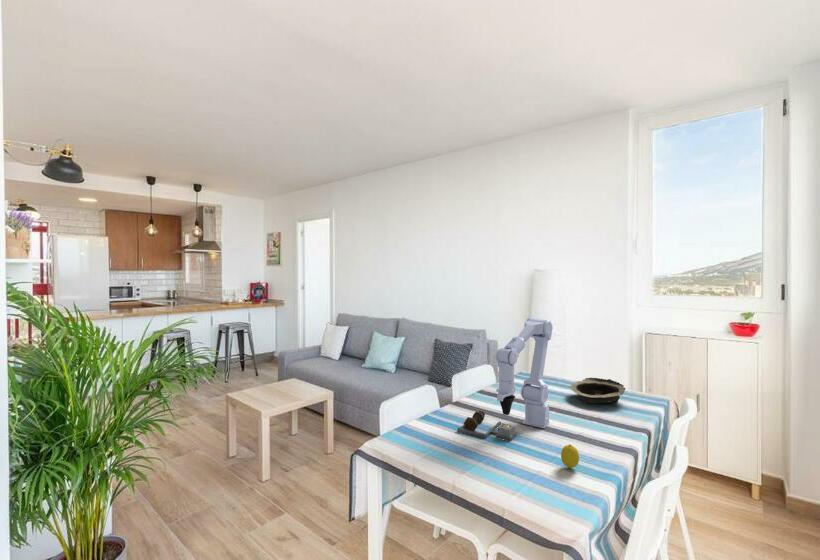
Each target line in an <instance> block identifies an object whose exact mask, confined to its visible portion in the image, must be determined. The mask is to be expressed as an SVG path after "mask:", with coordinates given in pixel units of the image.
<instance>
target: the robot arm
mask: <svg viewBox="0 0 820 560" xmlns="http://www.w3.org/2000/svg"><path fill="white" fill-rule="evenodd" d="M553 328H554V327H553V324H552V322H551V320H550V319H541V318H532V317H528V318H527V319H526V320H525V321H524V328H523V329H522V330H521V332H520V333H519V334H518V336H513V337H512V338H511V340H510V341H508V343H507V344H506V345H505V346H504V347H501V348H498V350H497V352H496V355H495V360H496V363H497V367H498V388H496V389H495V392H498V394H497V395H496V401H497V402H499V403H500V407H501V410H502V414H503V415H505V416H509V415H510V413H511V410H512V406H513V402H514V400H515V398H516V396H515V392H516V386H515V364H516V363H517V362H518V358H519V356H520V355H519V354H520V353H522V351H523V350H524V349H525V347H526V342H527V341H528V340H529V339H530V338H532V339H534V349H533V356H532V361H531V367H530V373H529V374H530V375H529V377H528V378H527V379H525V380H524V381H523V383H522V387H521V389H520V396H521V397H522V399H523V402H525V403H524V405H525V406H524V411H525V412H524V419H523V421H522V422H521V424H524V425H528V426H531V427H537V428H540V429H541V428H542V429H545V428H546V427H547V426H548V425H549V423H550V405H549V404H547V403H546V402H547V401H548V397H549V394H548V390H549V389H548V385H547V383H545V381H544V380H543V376H544V370H545V364H546V359H547V358H546V356H547V351H548V344H549V341H551V340H552V334H553Z"/></svg>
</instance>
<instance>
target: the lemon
mask: <svg viewBox="0 0 820 560" xmlns="http://www.w3.org/2000/svg"><path fill="white" fill-rule="evenodd" d="M560 458H561V462H562V463H563V465H564V466H565V467H567V468H568V469H569V470H570V469H573V468H575V467H577V466H578V464H579V462H580V454H579V451H578V449H577V448H576V447H575V446H574V445H572V444H571V443H570V444H566V445H564V446H563V447H562V448H561V452H560Z"/></svg>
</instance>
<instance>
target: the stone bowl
mask: <svg viewBox="0 0 820 560" xmlns="http://www.w3.org/2000/svg"><path fill="white" fill-rule="evenodd" d="M569 388H570V390H571V391H572V392H573V393H574V394H577V396H578V398H579V400H580V401H581V402H583V403H585V404H587V405H588V404H589V405H590V404H605V403H606V404H607V403H613V404H614V403H618V402H619V400H620V398H621V397H620V396H622V395H624V393H625V390H626V387H625V385H624V384H622V383H620V382H618V381H616V380H612V379H611V378H610V379H609V378H608V379H605V378H598V377H586V378H584V379H582V380H578V381H575V382H573V383H571V384H570V386H569Z"/></svg>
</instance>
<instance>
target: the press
mask: <svg viewBox="0 0 820 560" xmlns="http://www.w3.org/2000/svg"><path fill="white" fill-rule="evenodd" d="M503 425H509V428H504V427H503ZM497 427H498V428H497ZM464 428H465V426H464V424H463V425H462V426H460V427H459V426H458V427H457V428H456V430H457V431H458V432H457V433H460V432H462V433H461V434H464V433H466V434H465V435H468V434H469V436H472V435H474V436H473V437H476V436H477V438H480V437H482V438H481V439H484V438H486V439H487V438H488V437H489V436H490V435H494V434H496V435H495V438H496V439H498V438H500V440H502V439H504V440H503V441H506V440H507V441H506V442H510V441H511V442H512V441H513V440H514V439H515V438H516V437H517V432H515V430H516V429H515V425H514V424H510V423H505V422H502V421H497V423H495V424H494V425H493V426H492V427H491V428H490V429H489V430H488V431H486V432H485V433H484V432H478V431H476V430H475V431H472V430H468V429H466V428H465V429H464ZM496 428H497V429H496ZM495 429H496V430H497V431H496V430H495ZM494 430H495V431H494Z"/></svg>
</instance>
